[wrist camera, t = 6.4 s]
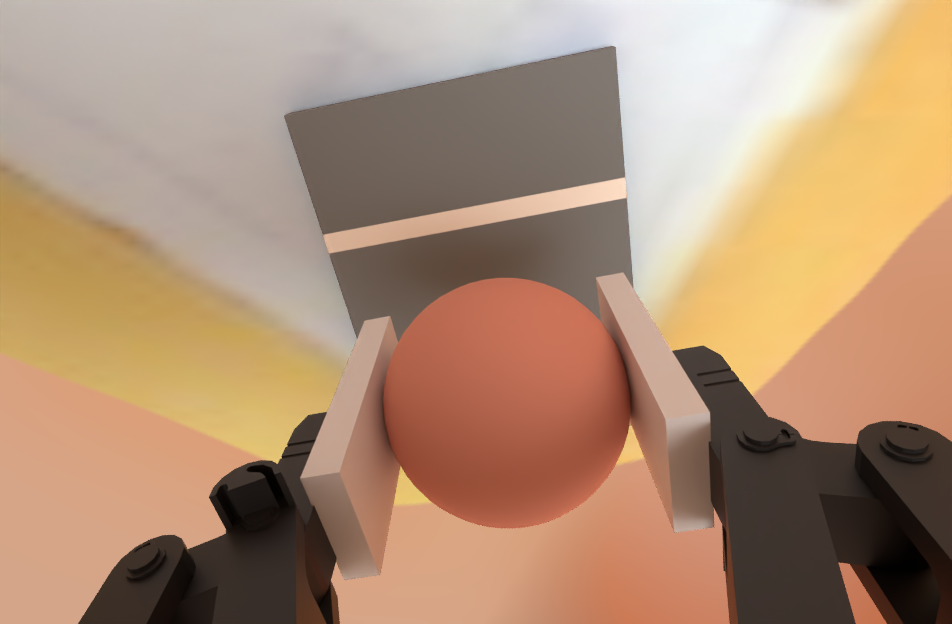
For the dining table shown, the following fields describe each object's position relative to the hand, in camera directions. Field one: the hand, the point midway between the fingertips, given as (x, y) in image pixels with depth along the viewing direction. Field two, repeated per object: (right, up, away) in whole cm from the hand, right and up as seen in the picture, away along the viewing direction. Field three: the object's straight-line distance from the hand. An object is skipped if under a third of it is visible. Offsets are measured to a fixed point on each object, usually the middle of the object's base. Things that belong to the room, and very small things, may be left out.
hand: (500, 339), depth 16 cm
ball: (0, 0, 0) cm, 0 cm away
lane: (0, +3, +7) cm, 8 cm away
